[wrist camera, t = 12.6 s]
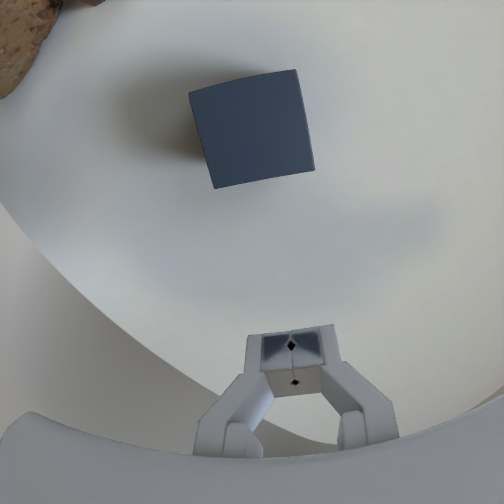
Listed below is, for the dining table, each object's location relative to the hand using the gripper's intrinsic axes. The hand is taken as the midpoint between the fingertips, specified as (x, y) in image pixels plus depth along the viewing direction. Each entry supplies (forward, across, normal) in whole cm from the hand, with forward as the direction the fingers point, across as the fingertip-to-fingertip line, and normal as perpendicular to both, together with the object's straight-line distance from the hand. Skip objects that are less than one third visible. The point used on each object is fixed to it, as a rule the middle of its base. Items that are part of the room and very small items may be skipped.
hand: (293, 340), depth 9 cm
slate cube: (+9, 0, -6) cm, 11 cm away
